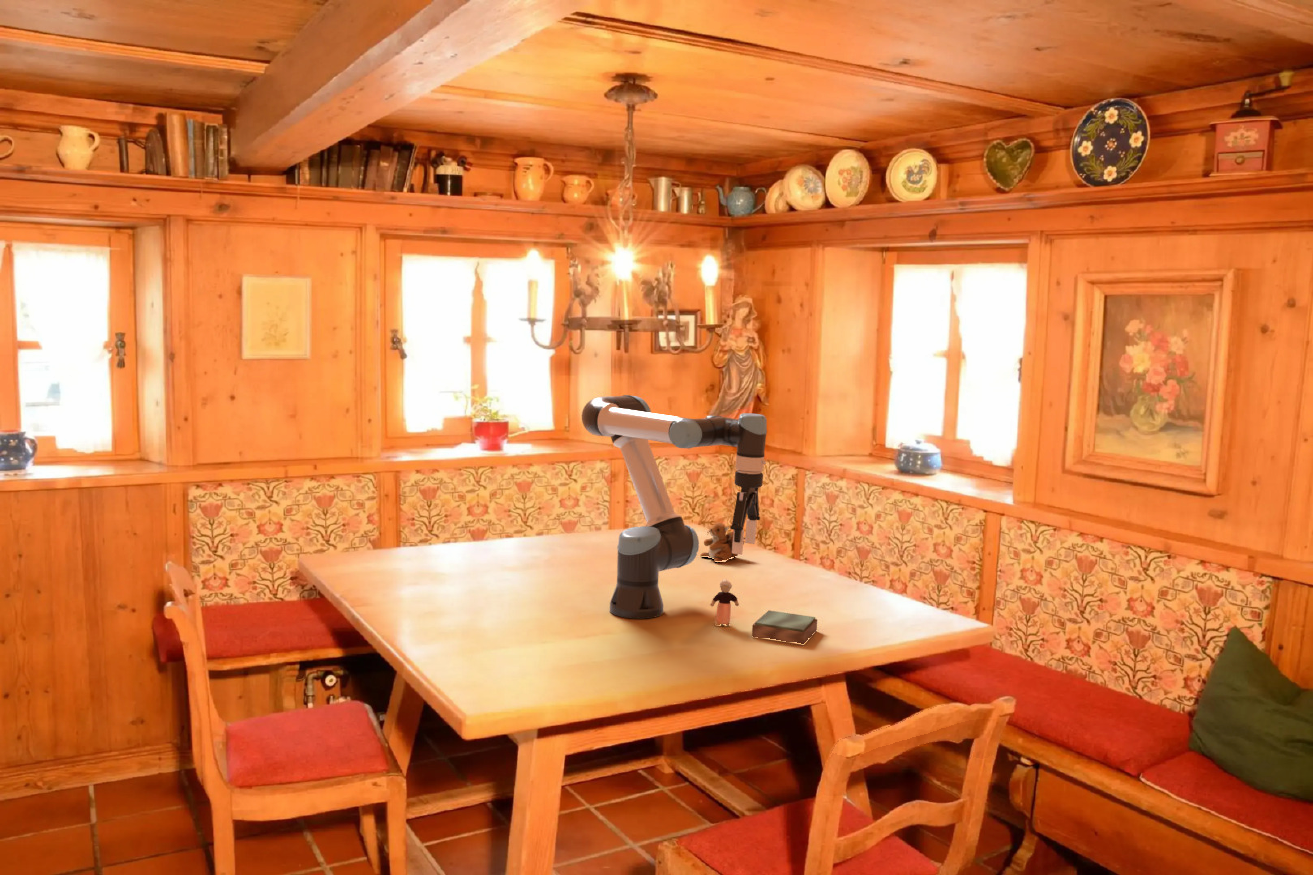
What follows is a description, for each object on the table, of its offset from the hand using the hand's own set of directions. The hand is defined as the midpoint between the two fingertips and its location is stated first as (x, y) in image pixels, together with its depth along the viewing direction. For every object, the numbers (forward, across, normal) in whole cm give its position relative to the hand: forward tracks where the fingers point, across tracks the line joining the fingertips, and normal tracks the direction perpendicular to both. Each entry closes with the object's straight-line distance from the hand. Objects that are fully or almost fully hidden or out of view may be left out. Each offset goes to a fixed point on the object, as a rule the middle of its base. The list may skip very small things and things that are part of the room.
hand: (743, 548), depth 284 cm
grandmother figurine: (+21, -3, +3) cm, 22 cm away
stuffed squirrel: (+23, +72, +25) cm, 80 cm away
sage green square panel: (+21, -4, -14) cm, 25 cm away
